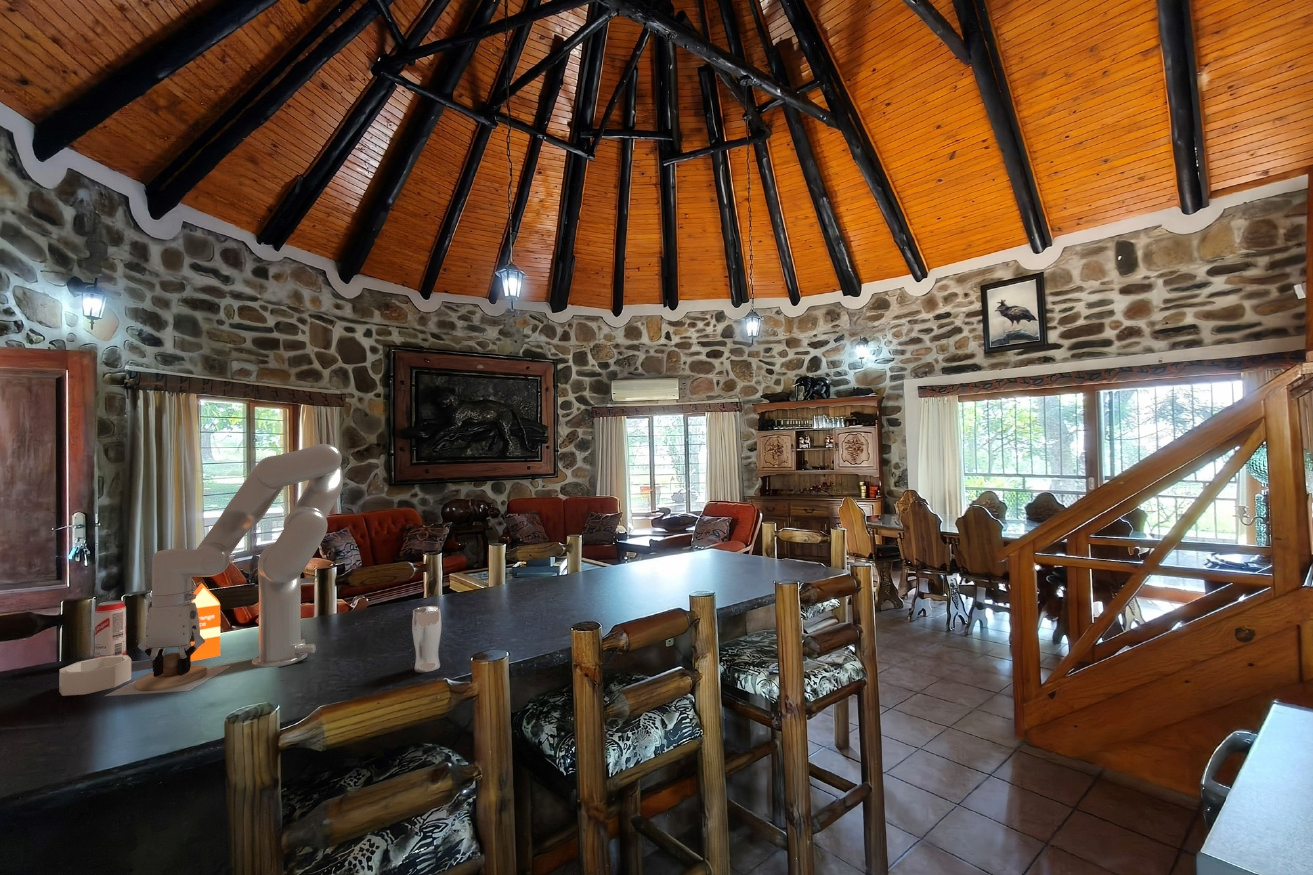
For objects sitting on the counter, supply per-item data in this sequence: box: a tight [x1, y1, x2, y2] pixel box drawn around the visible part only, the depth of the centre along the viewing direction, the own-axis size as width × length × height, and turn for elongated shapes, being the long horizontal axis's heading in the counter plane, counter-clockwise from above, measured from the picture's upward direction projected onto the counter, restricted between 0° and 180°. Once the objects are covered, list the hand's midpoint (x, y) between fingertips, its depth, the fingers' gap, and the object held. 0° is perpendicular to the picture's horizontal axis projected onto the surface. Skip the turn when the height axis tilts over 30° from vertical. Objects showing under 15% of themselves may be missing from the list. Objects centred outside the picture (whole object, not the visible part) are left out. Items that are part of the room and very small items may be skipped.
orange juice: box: [191, 582, 221, 662], centre depth 161 cm, size 8×9×20 cm
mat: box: [104, 665, 232, 697], centre depth 142 cm, size 18×16×1 cm
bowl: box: [58, 654, 132, 697], centre depth 140 cm, size 12×12×6 cm
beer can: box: [94, 599, 127, 659], centre depth 159 cm, size 6×6×16 cm
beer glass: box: [411, 605, 442, 673], centre depth 148 cm, size 7×7×15 cm
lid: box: [134, 651, 207, 691], centre depth 142 cm, size 14×14×6 cm
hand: (171, 673), depth 142 cm, fingers open, 4 cm apart
